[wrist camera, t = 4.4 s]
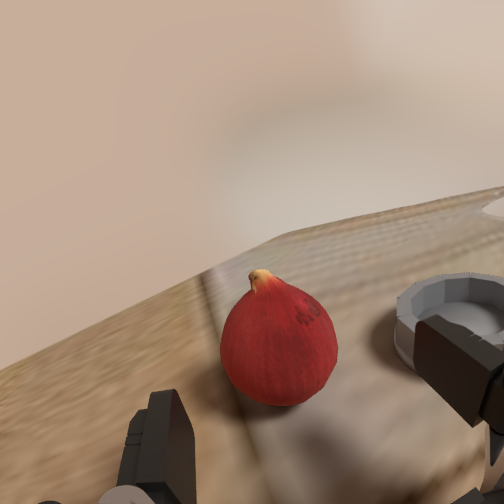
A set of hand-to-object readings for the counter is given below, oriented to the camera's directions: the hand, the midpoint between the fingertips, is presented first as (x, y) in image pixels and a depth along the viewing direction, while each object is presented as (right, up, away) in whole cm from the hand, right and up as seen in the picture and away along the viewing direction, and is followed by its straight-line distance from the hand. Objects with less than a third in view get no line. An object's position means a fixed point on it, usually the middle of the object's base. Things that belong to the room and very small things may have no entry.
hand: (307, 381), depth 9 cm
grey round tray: (+13, -2, +8) cm, 15 cm away
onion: (0, -5, +7) cm, 8 cm away
